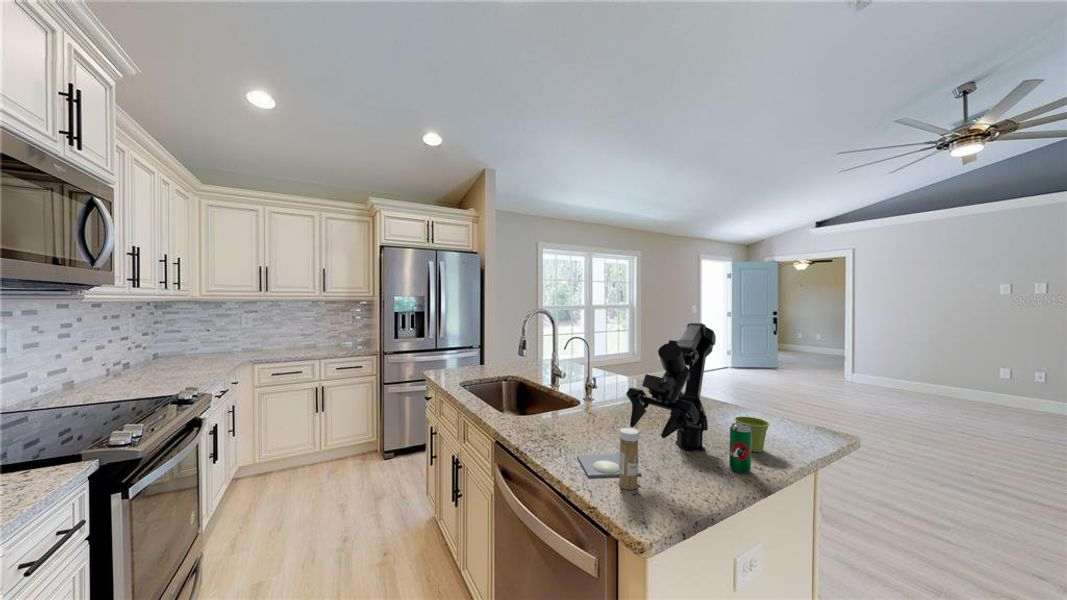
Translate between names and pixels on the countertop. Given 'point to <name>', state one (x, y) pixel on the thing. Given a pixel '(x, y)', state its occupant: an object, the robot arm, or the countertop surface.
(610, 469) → the board
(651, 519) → the countertop surface
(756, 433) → the plant pot
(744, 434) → the soda can
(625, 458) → the sprinkles bottle
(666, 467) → the countertop surface
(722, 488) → the countertop surface
